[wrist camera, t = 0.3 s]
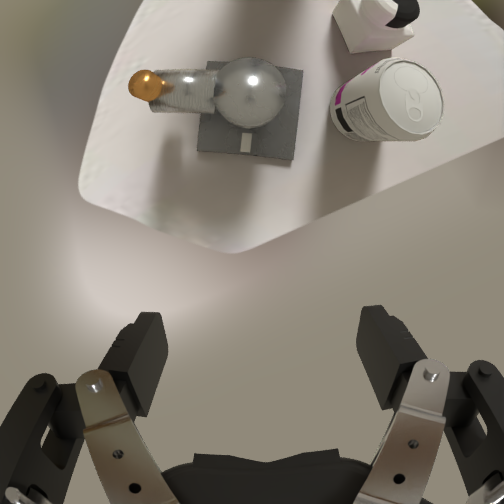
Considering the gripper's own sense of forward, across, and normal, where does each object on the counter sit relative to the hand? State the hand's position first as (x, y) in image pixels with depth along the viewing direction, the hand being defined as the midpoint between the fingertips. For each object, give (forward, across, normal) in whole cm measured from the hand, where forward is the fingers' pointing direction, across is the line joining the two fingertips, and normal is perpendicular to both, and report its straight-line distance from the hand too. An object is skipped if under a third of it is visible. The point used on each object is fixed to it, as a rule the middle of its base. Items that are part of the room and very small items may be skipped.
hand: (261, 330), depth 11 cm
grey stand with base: (+29, 0, -12) cm, 31 cm away
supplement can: (+29, -14, -12) cm, 34 cm away
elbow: (+24, +4, -12) cm, 27 cm away
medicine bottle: (+29, -16, -24) cm, 41 cm away
